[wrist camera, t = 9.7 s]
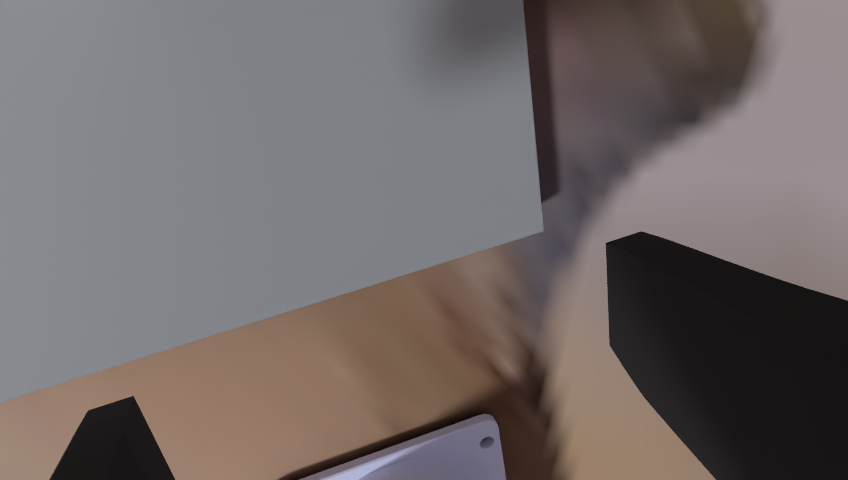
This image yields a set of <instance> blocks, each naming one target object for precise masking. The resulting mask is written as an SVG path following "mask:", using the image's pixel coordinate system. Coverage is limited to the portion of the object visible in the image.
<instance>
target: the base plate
mask: <svg viewBox="0 0 848 480" xmlns="http://www.w3.org/2000/svg"><path fill="white" fill-rule="evenodd" d="M542 231H544V230H543V218H542V207H541V196H540V185H539V173H538V162H537V151H536V140H535V129H534V117H533V106H532V95H531V84H530V73H529V61H528V50H527V39H526V28H525V16H524V5H523V0H0V402H3V401H6V400H9V399H13V398H16V397H19V396H22V395H25V394H28V393H32V392H35V391H38V390H41V389H44V388H47V387H51V386H54V385H57V384H60V383H63V382H67V381H70V380H73V379H76V378H79V377H82V376H86V375H89V374H92V373H95V372H98V371H101V370H105V369H108V368H111V367H114V366H117V365H120V364H124V363H127V362H130V361H133V360H136V359H139V358H143V357H146V356H149V355H152V354H155V353H159V352H162V351H165V350H168V349H171V348H174V347H178V346H181V345H184V344H187V343H190V342H193V341H197V340H200V339H203V338H206V337H209V336H212V335H216V334H219V333H222V332H225V331H228V330H231V329H235V328H238V327H241V326H244V325H247V324H251V323H254V322H257V321H260V320H263V319H266V318H270V317H273V316H276V315H279V314H282V313H285V312H289V311H292V310H295V309H298V308H301V307H304V306H308V305H311V304H314V303H317V302H320V301H323V300H327V299H330V298H333V297H336V296H339V295H342V294H346V293H349V292H352V291H355V290H358V289H362V288H365V287H368V286H371V285H374V284H377V283H381V282H384V281H387V280H390V279H393V278H396V277H400V276H403V275H406V274H409V273H412V272H415V271H419V270H422V269H425V268H428V267H431V266H434V265H438V264H441V263H444V262H447V261H450V260H454V259H457V258H460V257H463V256H466V255H469V254H473V253H476V252H479V251H482V250H485V249H488V248H492V247H495V246H498V245H501V244H504V243H507V242H511V241H514V240H517V239H520V238H523V237H526V236H530V235H533V234H536V233H539V232H542Z"/></svg>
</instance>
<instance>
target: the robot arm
mask: <svg viewBox="0 0 848 480" xmlns="http://www.w3.org/2000/svg"><path fill="white" fill-rule="evenodd" d="M606 258H607V284H608V309H609V310H608V312H609V337H610V346H611V348H612V350H613V351H614V353H615V354H616V356H617V357H618V359H619V360H620V362H621V363H622V365H623V367H624V368H625V370H626V371H627V372H628V374H629V376H630V377H631V379H632V380H633V382H634V383H635V385H636V386H637V388H638V389H639V390H640V392H641V393H642V395H643V396H644V397H645V399H646V400H647V401H648V402H649V403H650V405H651V406H652V407H653V408H654V409H655V410H656V412H657V413H658V414H659V415H660V416H661V417H662V419H664V421H665V422H666V423H667V424H668V425H669V427H670V428H671V429H672V430H673V431H674V432H675V434H677V436H678V437H679V438H680V439H681V440H682V442H683V443H684V444H685V445H686V446H687V447H688V448H689V449H690V450H691V452H692V453H693V454H694V455H695V456H696V457H697V458H698V460H699V461H701V463H702V464H703V465H704V466H705V468H706V469H707V470H708V471H709V472H710V473H711V474H712V475H713V477H714V478H715V479H716V480H848V301H847V300H844V299H840V298H837V297H833V296H830V295H827V294H824V293H820V292H817V291H813V290H810V289H807V288H804V287H801V286H798V285H794V284H791V283H788V282H785V281H782V280H779V279H776V278H773V277H770V276H767V275H765V274H762V273H759V272H756V271H753V270H750V269H748V268H745V267H742V266H739V265H736V264H733V263H731V262H728V261H725V260H723V259H720V258H717V257H714V256H712V255H709V254H706V253H703V252H700V251H698V250H695V249H692V248H689V247H687V246H684V245H681V244H678V243H676V242H673V241H670V240H667V239H664V238H661V237H658V236H655V235H651V234H648V233H645V232H638V233H635V234H632V235H629V236H626V237H623V238H620V239H617V240H614V241H610V242H607V243H606ZM485 437H487V438H486V439H485V440H482V439H484V438H485ZM481 440H482V441H481ZM50 480H175V478H174V476H173V474H172V472H171V470H170V468H169V466H168V464H167V462H166V460H165V458H164V456H163V454H162V452H161V450H160V448H159V446H158V444H157V442H156V440H155V438H154V436H153V434H152V432H151V430H150V428H149V426H148V424H147V422H146V420H145V418H144V416H143V414H142V412H141V410H140V408H139V406H138V404H137V402H136V400H135V398H134V396H132V397H129V398H126V399H123V400H119V401H116V402H113V403H110V404H107V405H104V406H101V407H98V408H95V409H92V410H89V411H88V412H87V413H86V415H85V417H84V419H83V420H82V422H81V424H80V425H79V427H78V429H77V431H76V432H75V434H74V436H73V438H72V440H71V441H70V443H69V445H68V447H67V449H66V451H65V452H64V454H63V456H62V458H61V460H60V462H59V463H58V465H57V467H56V469H55V471H54V473H53V474H52V476H51V478H50ZM299 480H506V474H505V468H504V461H503V455H502V448H501V441H500V435H499V428H498V425H497V423H496V421H495V419H494V417H493V416H491V415H489V414H482V415H478V416H475V417H472V418H470V419H467V420H464V421H461V422H458V423H456V424H453V425H450V426H447V427H444V428H442V429H439V430H436V431H433V432H430V433H428V434H425V435H422V436H419V437H417V438H414V439H411V440H408V441H405V442H403V443H400V444H397V445H394V446H391V447H389V448H386V449H383V450H380V451H377V452H375V453H372V454H369V455H366V456H363V457H361V458H358V459H355V460H352V461H349V462H347V463H344V464H341V465H338V466H336V467H333V468H330V469H327V470H324V471H322V472H319V473H316V474H313V475H310V476H308V477H305V478H302V479H299Z"/></svg>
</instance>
